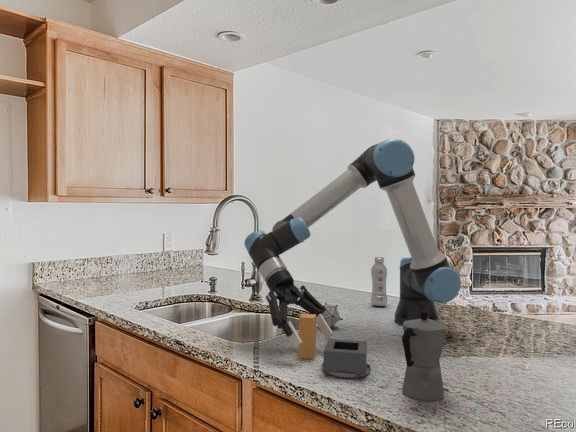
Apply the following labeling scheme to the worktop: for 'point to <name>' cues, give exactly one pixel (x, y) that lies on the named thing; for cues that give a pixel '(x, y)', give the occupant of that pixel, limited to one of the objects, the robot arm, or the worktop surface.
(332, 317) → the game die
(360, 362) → the socket collar
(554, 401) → the worktop surface
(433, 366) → the coffeepot
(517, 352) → the worktop surface
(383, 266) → the plastic bottle
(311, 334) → the orange rectangular block
